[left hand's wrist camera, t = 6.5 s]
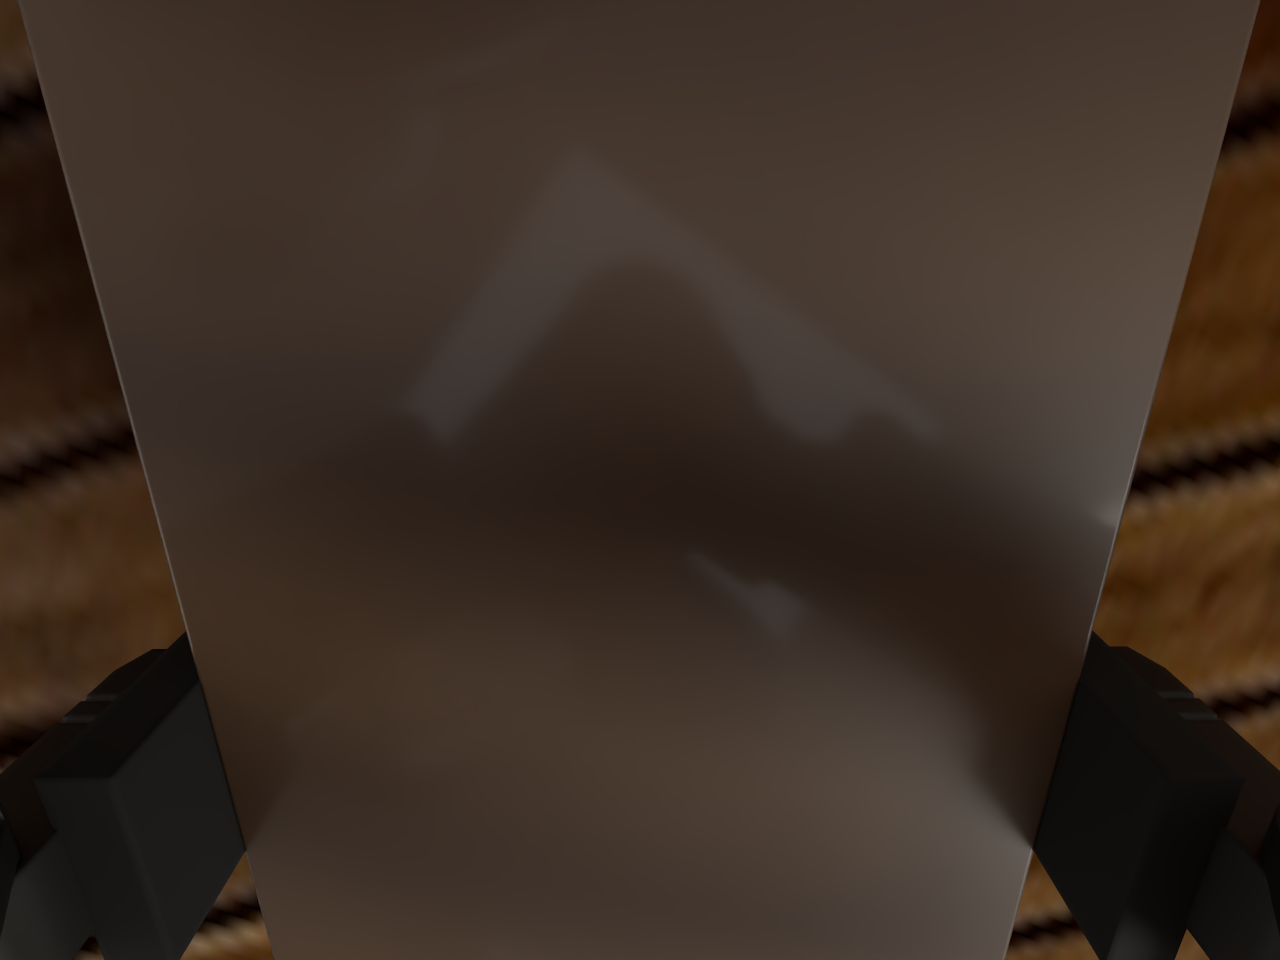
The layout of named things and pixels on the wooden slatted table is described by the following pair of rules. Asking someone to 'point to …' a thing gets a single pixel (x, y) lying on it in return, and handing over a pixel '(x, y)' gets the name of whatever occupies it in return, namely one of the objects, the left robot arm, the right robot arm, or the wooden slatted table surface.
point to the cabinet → (639, 438)
